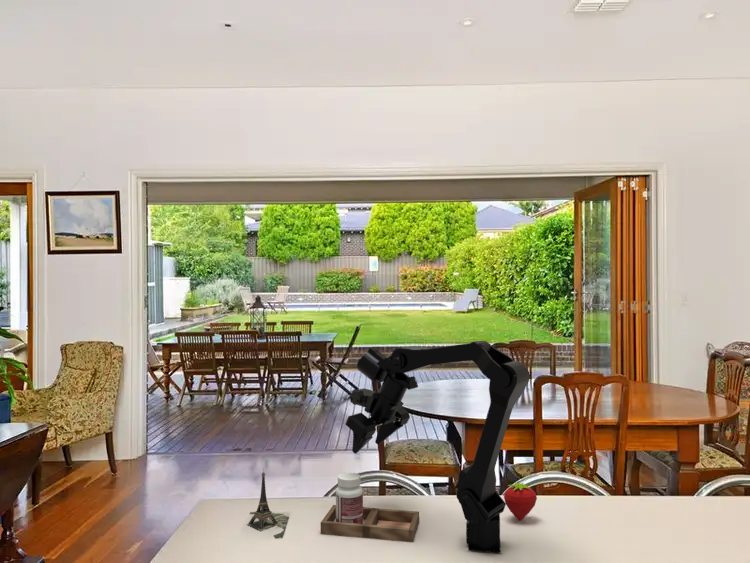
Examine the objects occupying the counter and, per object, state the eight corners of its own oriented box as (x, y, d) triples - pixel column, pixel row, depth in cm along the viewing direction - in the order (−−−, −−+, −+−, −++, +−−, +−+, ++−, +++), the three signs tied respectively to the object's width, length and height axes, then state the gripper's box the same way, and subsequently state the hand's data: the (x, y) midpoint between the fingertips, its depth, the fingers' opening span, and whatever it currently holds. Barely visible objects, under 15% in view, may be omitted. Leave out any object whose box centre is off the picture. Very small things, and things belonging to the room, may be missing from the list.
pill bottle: (368, 526, 129) (368, 476, 130) (348, 534, 125) (348, 482, 125) (350, 518, 134) (350, 469, 134) (330, 526, 130) (330, 475, 130)
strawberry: (540, 525, 130) (540, 481, 130) (507, 526, 130) (507, 481, 130) (532, 515, 136) (532, 472, 136) (500, 515, 136) (500, 473, 136)
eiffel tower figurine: (283, 541, 123) (283, 479, 123) (235, 542, 123) (236, 479, 123) (291, 514, 138) (291, 458, 138) (248, 514, 138) (249, 458, 138)
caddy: (419, 522, 132) (419, 511, 132) (413, 542, 121) (413, 530, 121) (333, 515, 136) (333, 504, 136) (320, 533, 125) (320, 522, 125)
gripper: (388, 370, 146) (365, 420, 150) (341, 380, 131) (317, 436, 135) (421, 395, 140) (396, 446, 145) (377, 409, 125) (350, 466, 130)
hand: (365, 447), depth 139 cm, fingers open, 9 cm apart
